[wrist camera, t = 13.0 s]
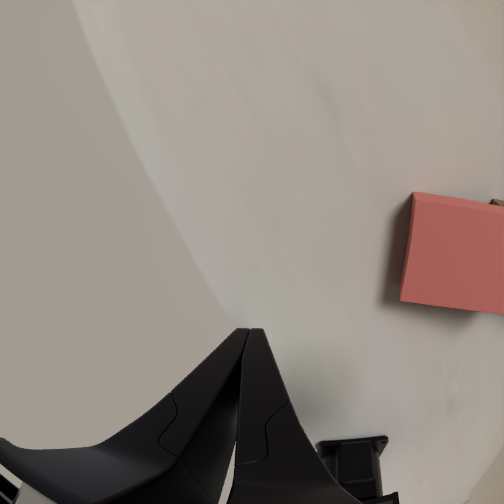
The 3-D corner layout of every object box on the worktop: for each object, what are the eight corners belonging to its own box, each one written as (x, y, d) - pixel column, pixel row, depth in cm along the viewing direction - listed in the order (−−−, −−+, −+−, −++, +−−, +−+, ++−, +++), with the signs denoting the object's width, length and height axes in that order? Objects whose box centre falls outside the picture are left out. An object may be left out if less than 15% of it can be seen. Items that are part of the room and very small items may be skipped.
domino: (413, 191, 12) (544, 216, 9) (400, 284, 14) (520, 300, 11) (415, 200, 11) (557, 226, 7) (400, 300, 13) (528, 316, 10)
